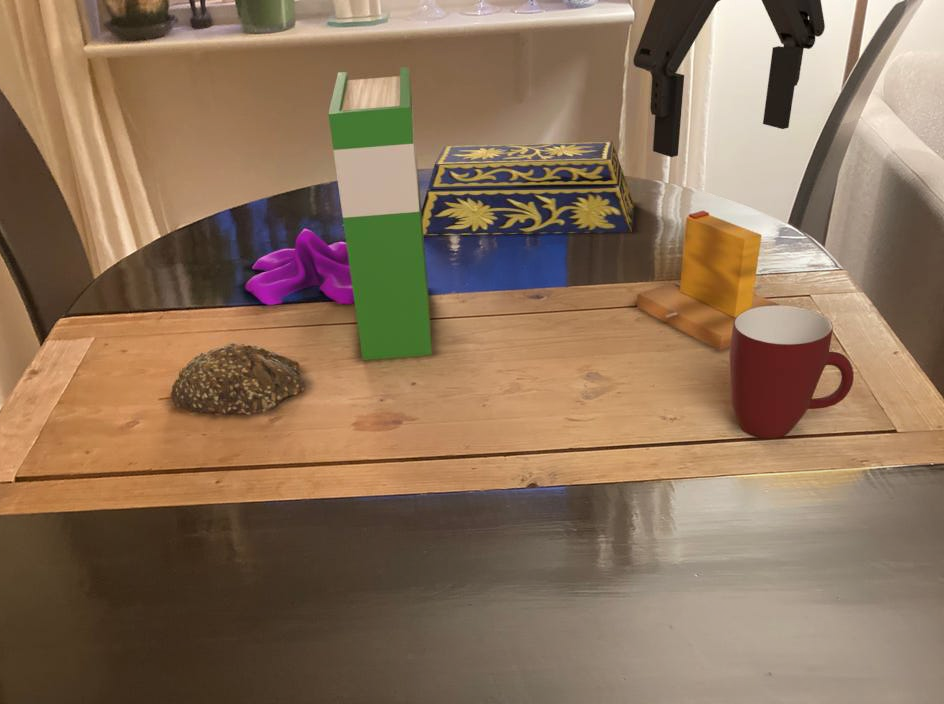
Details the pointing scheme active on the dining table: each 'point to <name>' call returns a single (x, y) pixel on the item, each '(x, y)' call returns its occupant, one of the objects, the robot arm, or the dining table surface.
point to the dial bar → (719, 263)
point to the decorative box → (527, 190)
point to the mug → (781, 367)
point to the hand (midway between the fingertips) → (721, 139)
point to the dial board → (693, 313)
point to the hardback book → (382, 213)
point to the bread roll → (236, 381)
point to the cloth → (304, 271)
